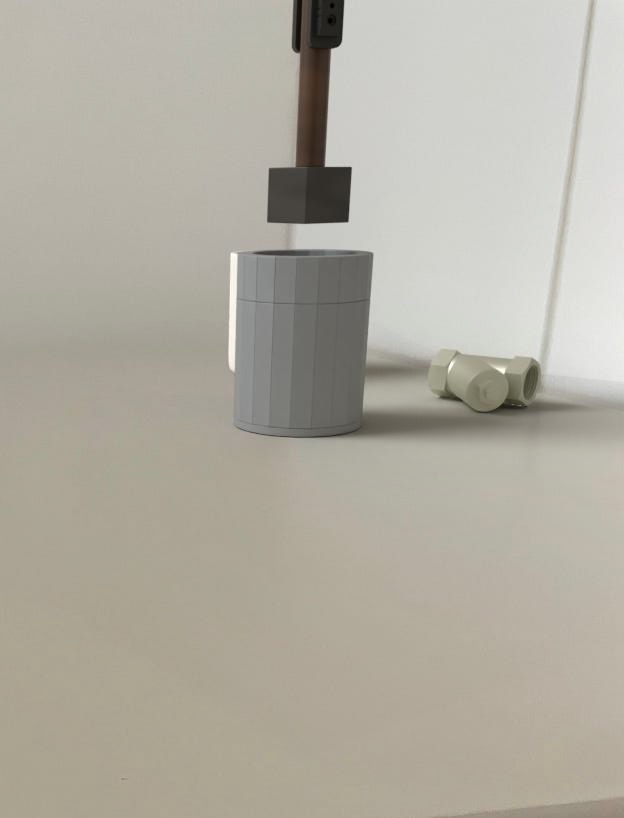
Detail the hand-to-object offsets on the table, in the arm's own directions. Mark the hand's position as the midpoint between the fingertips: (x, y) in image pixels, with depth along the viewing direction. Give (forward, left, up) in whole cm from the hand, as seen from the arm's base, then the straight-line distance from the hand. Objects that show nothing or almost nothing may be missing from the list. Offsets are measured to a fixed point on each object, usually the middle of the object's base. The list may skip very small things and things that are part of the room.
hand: (316, 49), depth 70 cm
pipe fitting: (-16, -3, -25) cm, 30 cm away
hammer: (0, 0, -11) cm, 11 cm away
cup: (0, 0, -25) cm, 25 cm away
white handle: (-6, -21, -25) cm, 33 cm away
